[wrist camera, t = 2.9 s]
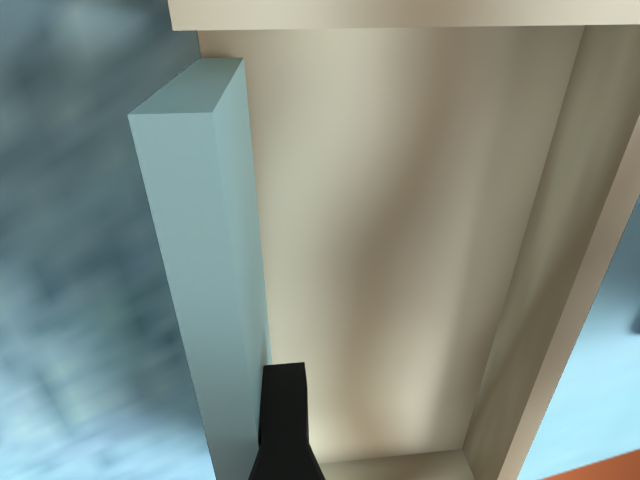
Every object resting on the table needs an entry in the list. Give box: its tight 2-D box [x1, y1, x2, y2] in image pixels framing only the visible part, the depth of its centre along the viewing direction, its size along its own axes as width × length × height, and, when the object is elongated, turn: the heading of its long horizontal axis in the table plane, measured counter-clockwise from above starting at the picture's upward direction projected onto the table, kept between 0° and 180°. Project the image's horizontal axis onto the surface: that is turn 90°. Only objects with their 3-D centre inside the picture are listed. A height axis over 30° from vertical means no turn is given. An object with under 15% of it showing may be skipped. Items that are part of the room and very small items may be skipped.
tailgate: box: [127, 58, 272, 480], centre depth 11 cm, size 1×16×5 cm, turn 1°
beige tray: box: [168, 0, 640, 480], centre depth 14 cm, size 10×21×4 cm, turn 0°
